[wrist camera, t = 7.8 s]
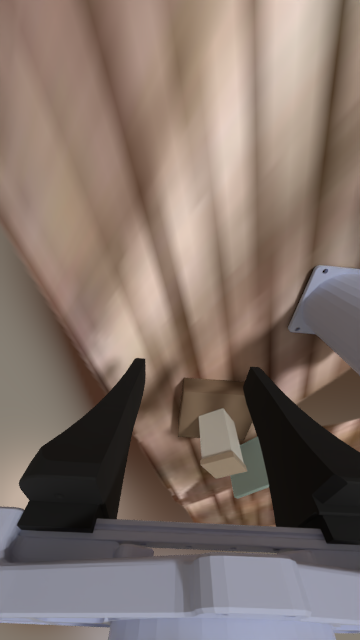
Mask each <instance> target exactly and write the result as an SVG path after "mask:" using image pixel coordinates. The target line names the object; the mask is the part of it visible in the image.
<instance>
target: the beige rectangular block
mask: <svg viewBox="0 0 360 640" xmlns="http://www.w3.org/2000/svg"><path fill="white" fill-rule="evenodd" d="M199 428H200V442H201V455H202V459H200V464H201V466H202V467H203V468H204V469H206V470H207V471H208V472H209V473H210V474H211V475H212V476H214V477H215V478H216V479H217V478H221V477H225V476H230V475H234V474H238V473H242V472H247V468H246V465H245V464H244V462H243V457H242V453H241V449H240V445H239V441H238V436H237V432H236V428H235V424H234V421H233V420H232V419H231V417H230V416H229V415H228V414H227V412H226V411H225V410H224V409H223V408H222V409H219V410H216V411H213V412H210V413H207V414H204V415H201V416H199Z"/></svg>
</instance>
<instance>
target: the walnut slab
mask: <svg viewBox="0 0 360 640" xmlns="http://www.w3.org/2000/svg"><path fill="white" fill-rule="evenodd" d="M244 383H245V382H240V381H225V380H209V379H194V378H184V380H183V388H182V396H181V404H180V412H179V420H178V437H194V438H200V428H199V416H201V415H204V414H207V413H210V412H213V411H216V410H219V409H222V408H223V409H224V410H225V411H226V412H227V414H228V415H229V416H230V417H231V419H232V420H233V421H234V424H235V428H236V432H237V436H238V440H244V439H245V437H246V434H247V432H248V430H249V428H250V426H251V423H252V419H251V416H250V413H249V410H248V407H247V404H246V400H245V396H244V390H243V386H244Z"/></svg>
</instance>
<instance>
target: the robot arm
mask: <svg viewBox="0 0 360 640" xmlns="http://www.w3.org/2000/svg"><path fill="white" fill-rule="evenodd" d="M324 269H326V270H325V272H323V270H324ZM322 272H323V273H322ZM296 328H298V329H296ZM288 330H289V331H290V332H295V333H307V334H316V335H317V336H318V337H319V338H321V339H322V340H323V341H324V342H325V343H326V344H327V345H328V346H329V347H330V348H331V349H332V350H333V351H334V352H335V353H337V354H338V355H339V356H340V357H341V358H342V359H343V360H344V361H345V362H346V363H347V364H348V365H349V366H350V367H351V368H353V369H354V370H355V371H356V372H357V373H358V374H359V375H360V269H357V268H346V267H336V266H325V265H318V266H316V267H315V268H314V270H313V272H312V274H311V277H310V279H309V281H308V283H307V286H306V288H305V290H304V292H303V295H302V297H301V299H300V302H299V304H298V306H297V308H296V311H295V313H294V315H293V317H292V320H291V322H290V324H289V326H288ZM144 386H145V359H141V358H136V359H135V360H134V361H133V363H132V364H131V366H130V367H129V369H128V370H127V371H126V373H125V374H124V375H123V377H122V378H121V379H120V380H119V382H118V383H117V384H116V385H115V386H114V387H113V389H112V390H111V391H110V392H109V393H108V394H107V395H106V396H105V397H104V398H103V399H102V400H101V401H100V402H99V403H98V404H97V405H96V406H95V407H94V408H93V409H91V410H90V411H89V412H88V413H87V414H86V415H85V416H83V417H82V418H81V419H80V420H78V421H77V422H76V423H75V424H73V425H72V426H71V427H69V428H68V429H67V430H65V431H64V432H63V433H61V434H60V435H58V436H57V437H55V438H54V439H53V440H51V441H49V442H48V443H47V444H45V445H44V446H42V447H41V448H40V450H39V451H38V453H37V454H36V455H35V457H34V458H33V460H32V461H31V463H30V464H29V466H28V468H27V469H26V471H25V473H24V474H23V476H22V478H21V479H20V482H19V486H20V488H21V490H22V491H23V493H24V494H25V495H26V496H27V498H28V499H29V500H30V501H29V502H28V505H27V506H26V508H25V510H24V509H21V508H16V507H0V623H22V624H44V625H47V624H48V625H68V626H90V627H110V631H109V637H108V640H336V638H335V635H334V633H360V452H358V451H356V450H355V449H353V448H352V447H350V446H349V445H347V444H346V443H344V442H343V441H341V440H340V439H338V438H337V437H336V436H334V435H333V434H331V433H330V432H329V431H327V430H326V429H325V428H323V427H322V426H321V425H319V424H318V423H317V422H315V421H314V420H313V419H312V418H311V417H309V416H308V415H307V414H306V413H305V412H303V411H302V410H301V409H300V408H299V407H298V406H297V405H296V404H295V403H294V402H292V401H291V400H290V399H289V398H288V397H287V396H286V395H285V394H284V393H283V392H282V391H281V390H280V389H279V388H278V387H277V386H276V385H275V384H274V382H273V381H272V380H271V379H270V378H269V377H268V376H267V375H266V374H265V373H264V372H263V371H262V370H261V369H260V368H259V367H250V370H249V372H248V375H247V378H246V380H245V383H244V386H243V390H244V396H245V400H246V404H247V407H248V410H249V413H250V416H251V419H252V421H253V424H254V427H255V430H256V433H257V436H258V439H259V443H260V447H261V451H262V455H263V459H264V464H265V468H266V473H267V477H268V483H269V488H270V493H271V498H272V504H273V510H274V516H275V523H276V527H269V526H248V525H227V524H205V523H183V522H162V521H141V520H139V521H138V520H119V519H117V513H118V507H119V501H120V496H121V489H122V484H123V478H124V473H125V467H126V462H127V456H128V451H129V446H130V441H131V436H132V432H133V427H134V424H135V421H136V417H137V414H138V410H139V407H140V403H141V400H142V396H143V391H144ZM146 547H153V548H176V549H200V550H222V551H223V550H224V551H246V552H270V553H277V554H254V553H229V552H210V553H205V554H194V555H193V554H191V555H170V556H153V554H154V551H153V550H152V549H151V548H146Z"/></svg>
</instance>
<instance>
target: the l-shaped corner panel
mask: <svg viewBox="0 0 360 640" xmlns="http://www.w3.org/2000/svg"><path fill="white" fill-rule="evenodd" d="M240 449H241V453H242V457H243V462H244V464H245V465H246V468H247V472H242V473H238V474H234V475H230V476H231V481H232V487H233V492H234V497H235V498H241V497H243V496H246V495H249V494H251V493H254V492H257V491H260V490H262V489H265V488H268V487H269V483H268V477H267V473H266V468H265V464H264V459H263V455H262V451H261V447H260V443H259V439H258V436H257V437H256V438H254V439H252V440H250V441H248V442H246V443H244V444H242V445H240Z"/></svg>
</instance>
